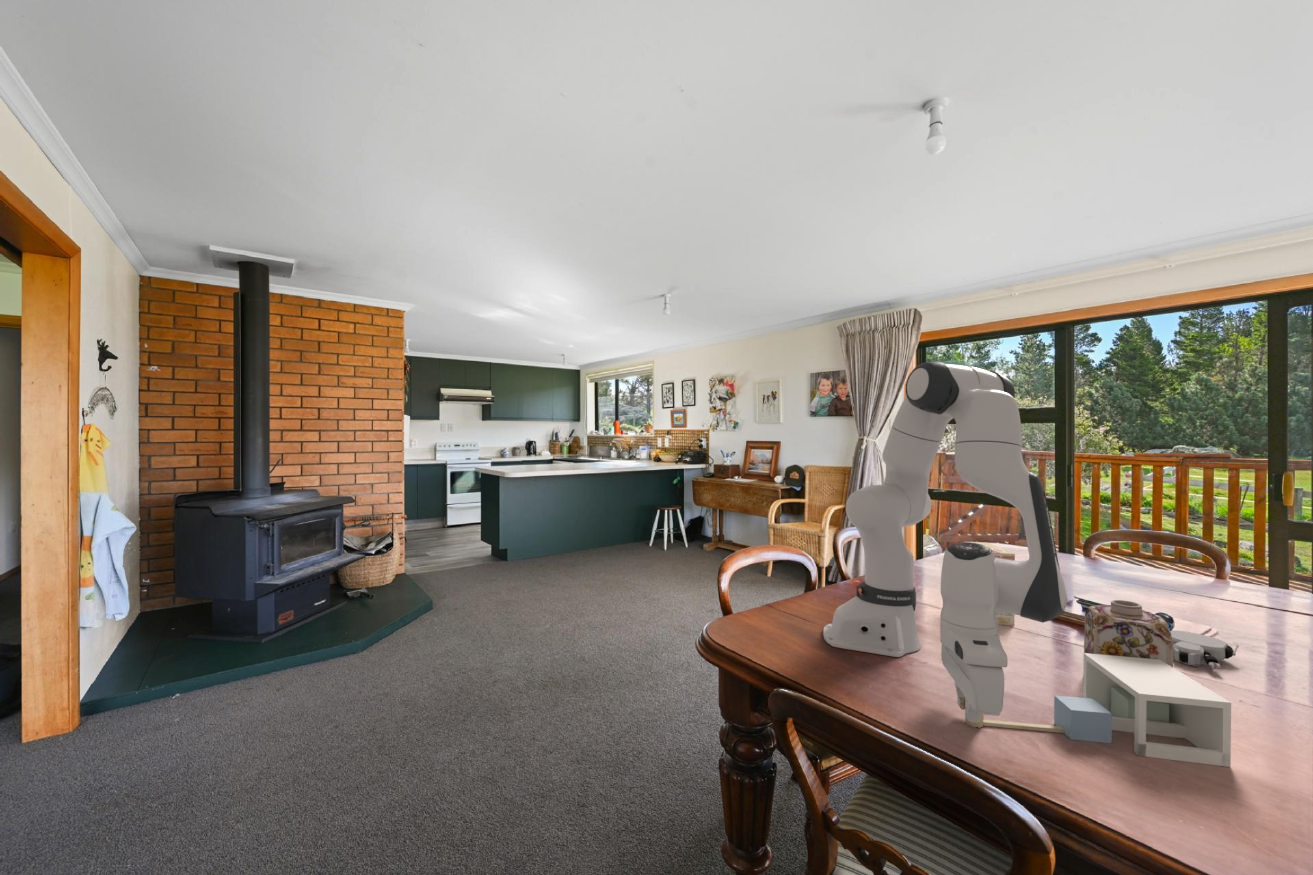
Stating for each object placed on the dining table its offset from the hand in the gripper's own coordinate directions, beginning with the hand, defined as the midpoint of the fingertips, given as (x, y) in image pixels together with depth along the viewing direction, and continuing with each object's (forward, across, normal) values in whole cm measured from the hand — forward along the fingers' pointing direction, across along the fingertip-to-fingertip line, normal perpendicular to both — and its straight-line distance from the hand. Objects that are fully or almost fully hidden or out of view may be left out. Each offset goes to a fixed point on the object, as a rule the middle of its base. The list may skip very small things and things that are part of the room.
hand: (967, 713), depth 94 cm
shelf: (+2, -4, +29) cm, 30 cm away
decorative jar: (+2, -20, +34) cm, 40 cm away
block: (+2, -7, +30) cm, 31 cm away
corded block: (+2, -1, +10) cm, 10 cm away
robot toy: (+2, -42, +59) cm, 73 cm away
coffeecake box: (+2, -63, +24) cm, 67 cm away
